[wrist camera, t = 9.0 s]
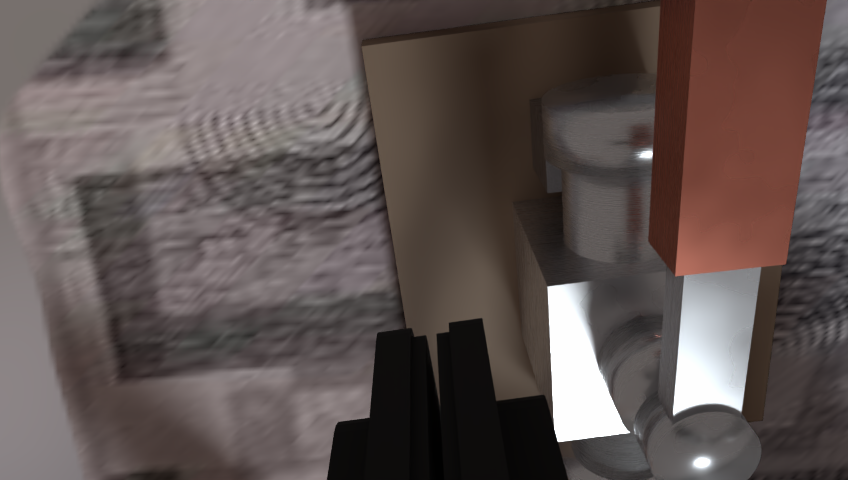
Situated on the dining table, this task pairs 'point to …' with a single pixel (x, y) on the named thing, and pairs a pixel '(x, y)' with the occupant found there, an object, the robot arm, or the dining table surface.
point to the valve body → (593, 270)
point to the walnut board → (496, 168)
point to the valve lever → (721, 213)
